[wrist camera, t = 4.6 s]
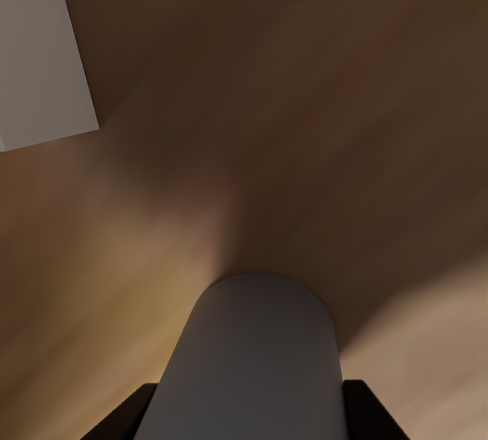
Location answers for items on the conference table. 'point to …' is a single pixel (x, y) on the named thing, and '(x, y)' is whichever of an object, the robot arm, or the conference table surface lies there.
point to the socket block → (40, 75)
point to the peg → (252, 368)
